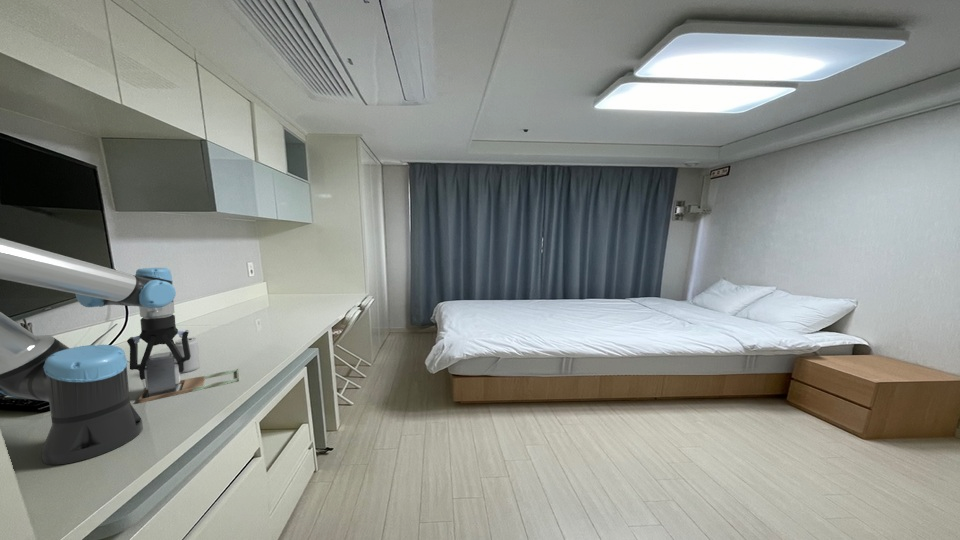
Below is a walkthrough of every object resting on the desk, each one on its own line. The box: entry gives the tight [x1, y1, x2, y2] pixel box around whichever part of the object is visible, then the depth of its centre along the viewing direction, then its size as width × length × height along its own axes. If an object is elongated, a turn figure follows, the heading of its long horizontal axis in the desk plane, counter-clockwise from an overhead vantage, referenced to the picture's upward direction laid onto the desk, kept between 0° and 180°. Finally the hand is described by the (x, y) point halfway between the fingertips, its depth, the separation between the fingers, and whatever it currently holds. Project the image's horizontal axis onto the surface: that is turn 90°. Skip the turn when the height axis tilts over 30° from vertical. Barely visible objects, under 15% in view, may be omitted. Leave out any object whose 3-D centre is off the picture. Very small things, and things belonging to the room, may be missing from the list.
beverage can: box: [174, 337, 200, 374], centre depth 114 cm, size 6×6×12 cm
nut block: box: [146, 351, 180, 397], centre depth 97 cm, size 6×6×13 cm
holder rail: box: [137, 368, 240, 404], centre depth 102 cm, size 24×10×1 cm, turn 130°
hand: (163, 384), depth 98 cm, fingers closed on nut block, 6 cm apart
